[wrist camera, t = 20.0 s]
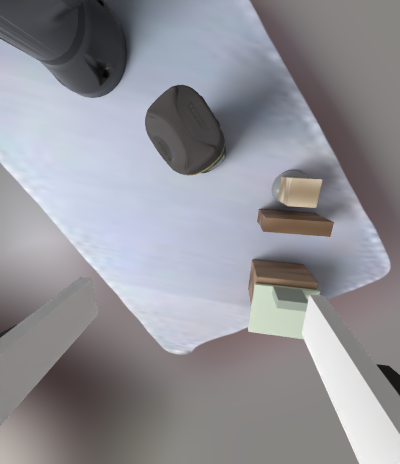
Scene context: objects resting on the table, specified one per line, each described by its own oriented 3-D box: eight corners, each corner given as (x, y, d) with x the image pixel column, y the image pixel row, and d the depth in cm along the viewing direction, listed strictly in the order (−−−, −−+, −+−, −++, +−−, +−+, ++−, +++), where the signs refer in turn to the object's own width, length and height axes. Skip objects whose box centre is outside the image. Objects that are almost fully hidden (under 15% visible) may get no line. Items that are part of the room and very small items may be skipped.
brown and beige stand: (259, 209, 41) (265, 217, 34) (315, 213, 40) (333, 222, 33) (248, 288, 47) (251, 309, 40) (297, 293, 45) (309, 316, 38)
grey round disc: (274, 169, 38) (275, 169, 38) (313, 171, 38) (313, 171, 37) (269, 205, 40) (270, 205, 40) (305, 207, 40) (306, 207, 39)
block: (281, 176, 38) (292, 178, 32) (305, 177, 38) (322, 179, 31) (277, 200, 40) (287, 206, 33) (301, 201, 39) (316, 207, 32)
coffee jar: (171, 139, 39) (126, 114, 22) (203, 111, 37) (181, 59, 20) (200, 180, 41) (178, 187, 23) (232, 156, 39) (235, 144, 21)
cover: (254, 282, 38) (258, 297, 33) (318, 289, 36) (331, 306, 32) (248, 329, 41) (250, 348, 37) (306, 337, 40) (316, 357, 35)
